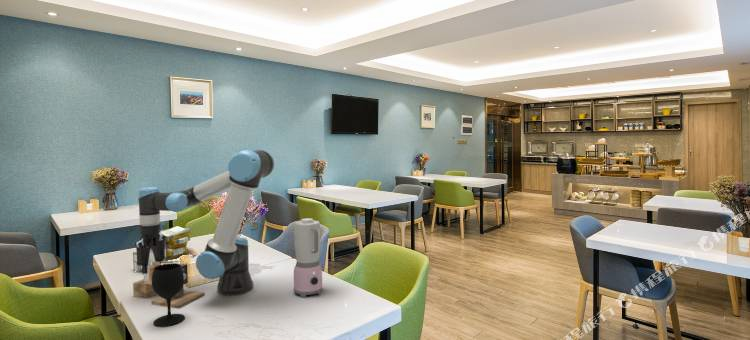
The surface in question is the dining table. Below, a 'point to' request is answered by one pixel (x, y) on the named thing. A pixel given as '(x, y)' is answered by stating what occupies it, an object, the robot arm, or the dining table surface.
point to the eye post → (181, 292)
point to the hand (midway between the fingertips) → (152, 278)
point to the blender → (307, 257)
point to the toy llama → (151, 260)
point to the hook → (152, 273)
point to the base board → (180, 299)
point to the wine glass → (168, 290)
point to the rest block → (142, 289)
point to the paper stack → (177, 243)
